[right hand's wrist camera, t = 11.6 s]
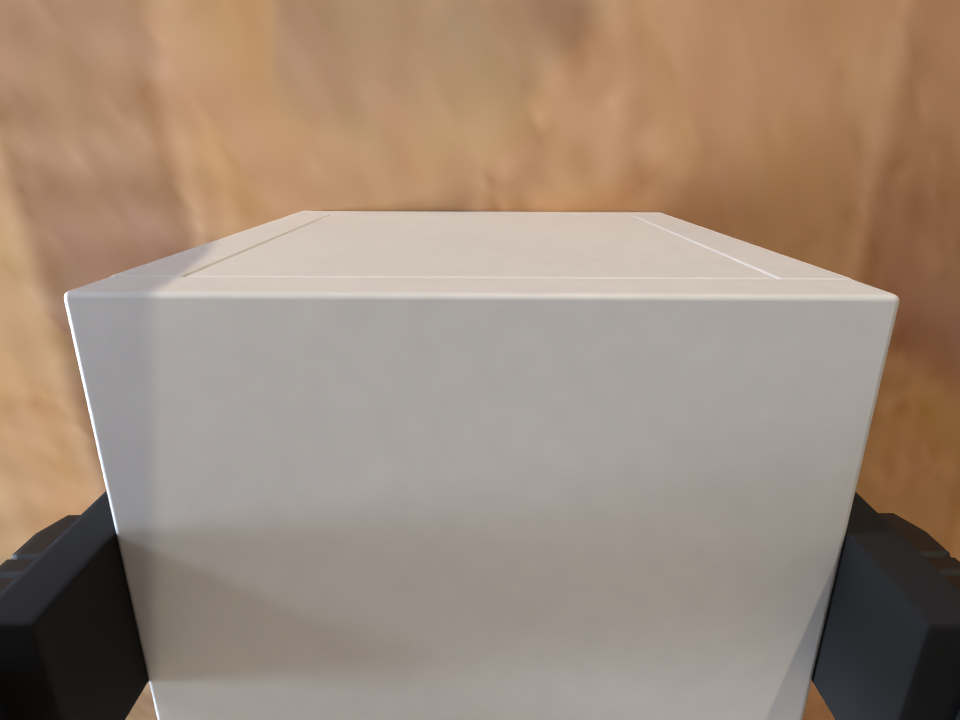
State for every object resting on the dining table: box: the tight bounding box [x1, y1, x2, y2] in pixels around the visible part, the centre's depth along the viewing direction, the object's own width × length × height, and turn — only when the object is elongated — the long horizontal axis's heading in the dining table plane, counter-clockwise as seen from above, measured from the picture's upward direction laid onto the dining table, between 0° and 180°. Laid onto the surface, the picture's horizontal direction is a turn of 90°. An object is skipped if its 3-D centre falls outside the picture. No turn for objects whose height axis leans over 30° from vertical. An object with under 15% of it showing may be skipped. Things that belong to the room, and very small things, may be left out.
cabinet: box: [64, 211, 899, 720], centre depth 16 cm, size 22×10×11 cm, turn 0°
